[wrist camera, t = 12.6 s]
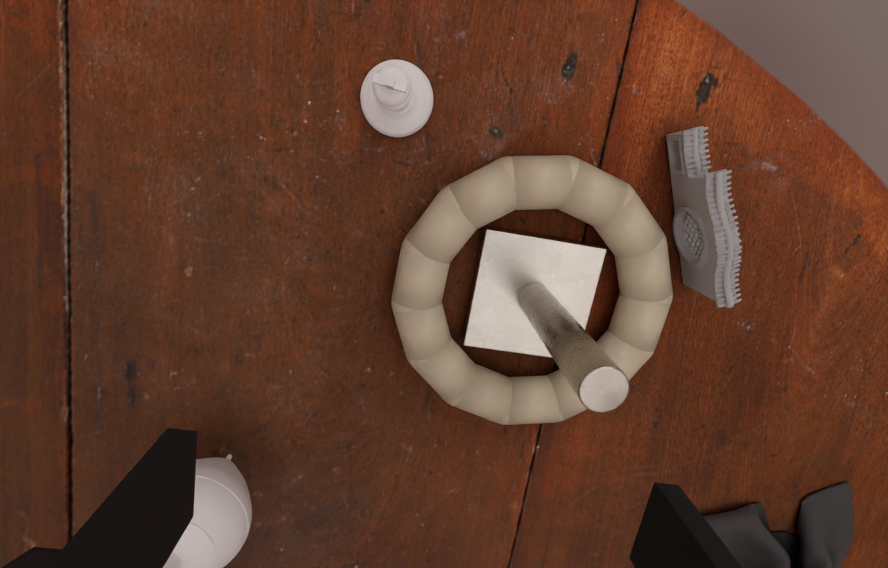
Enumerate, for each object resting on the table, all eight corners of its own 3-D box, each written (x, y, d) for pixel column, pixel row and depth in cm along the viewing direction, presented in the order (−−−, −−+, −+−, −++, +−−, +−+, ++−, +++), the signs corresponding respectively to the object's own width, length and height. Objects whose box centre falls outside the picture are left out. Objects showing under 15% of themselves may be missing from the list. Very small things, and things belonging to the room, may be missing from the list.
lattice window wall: (660, 132, 35) (708, 130, 29) (685, 125, 35) (738, 122, 29) (678, 288, 38) (725, 313, 32) (701, 282, 38) (751, 307, 32)
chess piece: (422, 146, 34) (425, 146, 24) (353, 125, 33) (328, 117, 24) (441, 72, 33) (452, 43, 23) (370, 49, 32) (351, 9, 23)
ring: (373, 389, 39) (369, 413, 36) (424, 124, 34) (425, 121, 30) (611, 427, 41) (628, 453, 38) (693, 184, 36) (723, 188, 32)
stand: (461, 338, 38) (490, 462, 23) (483, 225, 36) (531, 283, 21) (571, 353, 39) (667, 482, 24) (600, 244, 37) (725, 313, 22)
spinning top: (267, 408, 39) (204, 519, 27) (286, 488, 41) (236, 622, 30) (170, 420, 39) (67, 537, 27) (195, 500, 41) (109, 640, 29)
